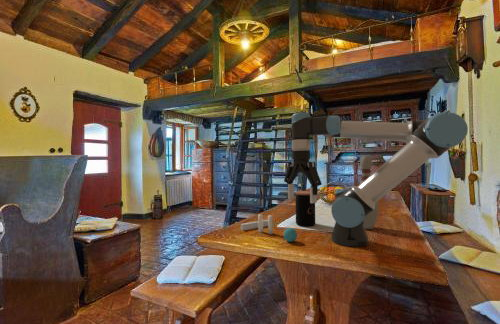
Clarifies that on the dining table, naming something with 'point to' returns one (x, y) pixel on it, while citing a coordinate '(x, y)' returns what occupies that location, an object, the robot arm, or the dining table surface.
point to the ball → (290, 234)
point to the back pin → (260, 223)
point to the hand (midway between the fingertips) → (301, 200)
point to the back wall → (253, 225)
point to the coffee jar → (304, 209)
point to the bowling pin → (366, 170)
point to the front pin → (270, 224)
